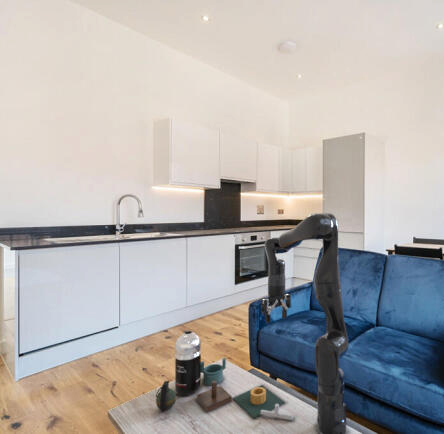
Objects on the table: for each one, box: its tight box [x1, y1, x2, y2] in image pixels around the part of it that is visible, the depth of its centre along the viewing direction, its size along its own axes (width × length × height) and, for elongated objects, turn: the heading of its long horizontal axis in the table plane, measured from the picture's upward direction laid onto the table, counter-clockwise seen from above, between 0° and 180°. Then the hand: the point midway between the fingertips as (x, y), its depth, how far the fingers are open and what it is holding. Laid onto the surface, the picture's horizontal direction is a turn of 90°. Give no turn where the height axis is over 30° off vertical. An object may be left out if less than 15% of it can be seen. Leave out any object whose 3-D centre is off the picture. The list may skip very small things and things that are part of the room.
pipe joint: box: [260, 404, 294, 421], centre depth 112 cm, size 12×2×4 cm, turn 78°
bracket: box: [201, 357, 227, 386], centre depth 136 cm, size 9×9×9 cm
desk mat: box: [232, 384, 286, 420], centre depth 121 cm, size 16×14×1 cm
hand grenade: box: [155, 380, 177, 413], centre depth 116 cm, size 8×7×10 cm
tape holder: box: [196, 381, 233, 413], centre depth 121 cm, size 10×10×8 cm
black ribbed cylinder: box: [174, 330, 202, 397], centre depth 128 cm, size 10×10×25 cm
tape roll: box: [250, 386, 266, 405], centre depth 121 cm, size 6×6×4 cm
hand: (276, 320), depth 133 cm, fingers open, 8 cm apart
